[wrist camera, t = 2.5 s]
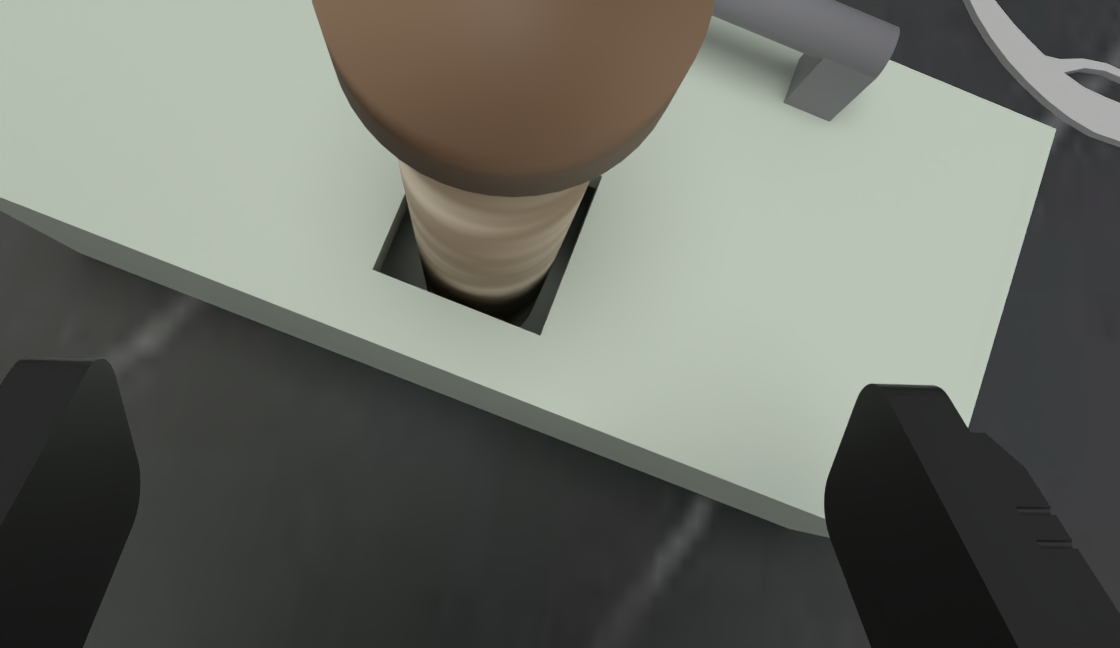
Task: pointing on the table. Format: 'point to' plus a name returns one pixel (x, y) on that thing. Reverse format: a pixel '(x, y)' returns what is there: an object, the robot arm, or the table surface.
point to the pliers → (1050, 75)
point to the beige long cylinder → (506, 119)
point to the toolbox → (590, 243)
